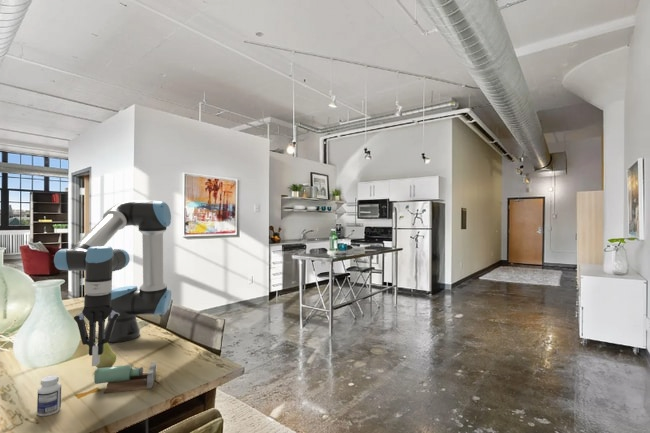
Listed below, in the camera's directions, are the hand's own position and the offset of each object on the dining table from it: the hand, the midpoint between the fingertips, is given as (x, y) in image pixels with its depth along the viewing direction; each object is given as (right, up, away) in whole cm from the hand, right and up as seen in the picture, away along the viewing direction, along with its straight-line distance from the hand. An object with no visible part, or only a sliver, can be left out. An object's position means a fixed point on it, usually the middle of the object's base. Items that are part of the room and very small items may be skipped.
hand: (95, 364), depth 115 cm
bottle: (0, -4, 0) cm, 4 cm away
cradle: (+10, -8, +3) cm, 13 cm away
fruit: (-7, -8, +15) cm, 18 cm away
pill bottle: (-4, -8, -14) cm, 17 cm away
